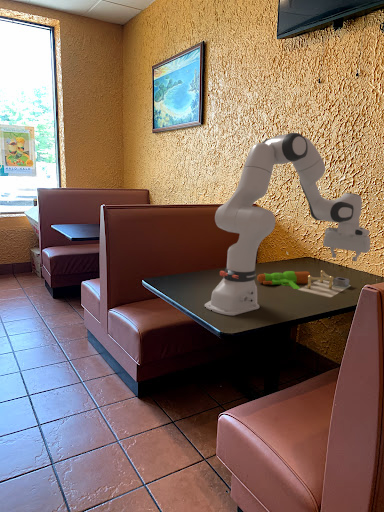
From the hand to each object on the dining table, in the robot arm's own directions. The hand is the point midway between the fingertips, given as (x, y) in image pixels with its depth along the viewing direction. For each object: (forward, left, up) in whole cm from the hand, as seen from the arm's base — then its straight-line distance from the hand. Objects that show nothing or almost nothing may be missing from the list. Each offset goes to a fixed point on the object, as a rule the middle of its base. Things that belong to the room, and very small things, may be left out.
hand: (344, 259), depth 174 cm
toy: (-17, +20, -15) cm, 30 cm away
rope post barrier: (-9, +5, -13) cm, 16 cm away
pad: (0, 0, -13) cm, 13 cm away
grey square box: (0, 0, -13) cm, 13 cm away
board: (-9, +4, -14) cm, 17 cm away
